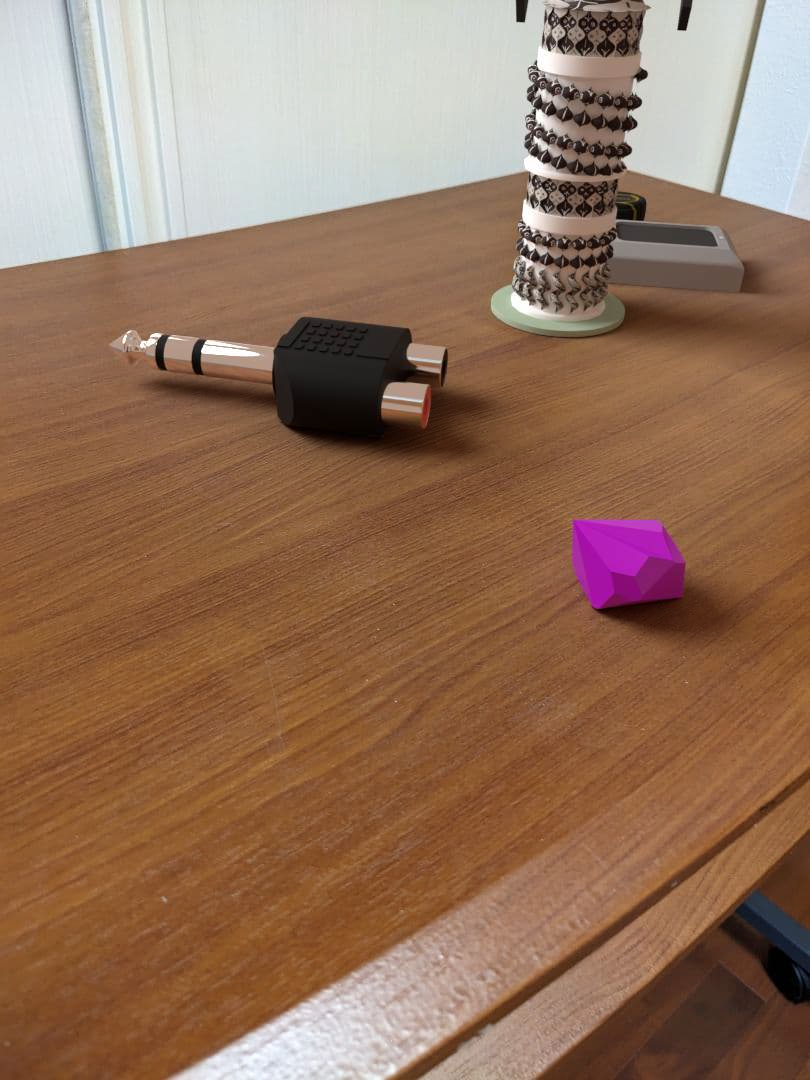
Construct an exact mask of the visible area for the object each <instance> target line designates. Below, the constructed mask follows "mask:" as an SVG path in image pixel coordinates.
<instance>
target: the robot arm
mask: <svg viewBox="0 0 810 1080" xmlns="http://www.w3.org/2000/svg"><path fill="white" fill-rule="evenodd" d="M679 6H680V7H679V13H678V21H677V29H676V31H679V32H680V31H681V32H686V31H687V30H688V26H689V21H690V16H691V12H692V7H693V0H680V5H679ZM528 7H529V0H515V22H516V23H524V24H525V23H526V19H527V13H528Z"/></svg>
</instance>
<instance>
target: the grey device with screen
mask: <svg viewBox="0 0 810 1080" xmlns="http://www.w3.org/2000/svg"><path fill="white" fill-rule="evenodd" d="M613 227H615V228H616V231H617V232H616V234H617V237H616V239H615V240H614V241H612V242H611V243H610V245H612V246H613V249H614V250H613V253H614V255H613V257H612V258H610V259H609V260H608V261H607V264H608V265H609V266H610V268H611V271H610V272H609V273H610V274H611V277H610V278H609V279H608V280H607V281H606V283H607V284H615V285H629V286H643V287H658V288H672V289H683V290H684V289H685V290H698V291H713V292H724V293H725V292H726V293H737V292H738V293H739V294H740V291H741V287H742V283H743V279H744V274H745V267H744V264H743V262H742V261H741V260H742V259H741V258H740V255H739V254H738V251H737V249H736V247H735V245H734V242H733V240H732V238H731V236H730V235H729V233H728V231H727V230H725V229H724V228H723V227H722V226H719V225H705V224H691V223H690V224H689V223H676V222H675V223H674V222H660V221H646V220H644V221H632V220H617V219H616V221H615V225H614V226H613ZM738 293H737V294H738Z"/></svg>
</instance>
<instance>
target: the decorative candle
mask: <svg viewBox="0 0 810 1080" xmlns="http://www.w3.org/2000/svg"><path fill="white" fill-rule="evenodd" d="M542 4H543V5H544V13H543V14H544V15H543V24H542V35H541V36H542V37H541V45H539V46H538V51H537V59H535V60H534V62H533V63H532V64H530V65H529V66H528V67H527V74H528V75H527V77H528V80H529V81H530V82H531V83H532V84H531V85H530V86H528V87H527V89H526V97H525V98H526V100H527V102H529V103H530V104H531V107H533V108H532V109H531V112H529V113H527V114H526V115H525V117H524V119H525V120H524V121H525V128H526V129H527V130H528V131H530V132H528V133H526V134H525V135H524V142H523V147H524V148H525V149H526V150H527V153H528V156H526V157H525V158H524V162H523V165H524V168H525V170H526V171H528V177H527V183H526V185H527V186H526V196H525V199H523V206H522V216H521V217H522V219H521V220H519V221H518V223H517V233H518V234H520V236H521V237H519V238H518V239H517V240H516V245H515V250H516V251H517V252H518V254H519V255H518V256H517V257H516V258H515V259H514V262H513V272H514V276H513V277H512V281H511V282H512V283H511V284H512V288H513V290H514V293H513V294H512V295H511V300H512V306H514V307H515V308H516V309H517V310H518V311H520V312H521V313H524V314H526V315H529V316H531V317H534V318H538V319H543V320H548V321H555V322H576V321H584V320H589V319H592V318H594V317H597V316H599V315H601V313H602V312H603V311H604V309H605V303H604V300H603V298H604V297H605V296H607V294H608V293H609V292H608V289H609V285H608V283H606V281H607V280H608V279H609V278H610V277H611V274H610V273H609V272H610V271H611V268H610V266H609V265H608V264H607V261H608V260H609V259H610V258H612V257H613V255H614V253H613V250H614V249H613V246H612V245H610V243H611V242H612V241H614V240H615V239H616V237H617V234H616V232H617V231H616V228H615V227H613V226H614V225H615V221H616V214H617V207H616V205H615V200H616V197H617V193H618V191H619V180H620V178H623V176H625V175H626V174H627V173H628V172H627V171H628V166H627V165H626V163H625V161H624V160H623V159H624V158H626V157H628V156H630V155H631V154H632V153H633V147H632V146H631V145H630V144H628V142H627V141H625V138H626V133H630V131H632V130H635V129H636V128H638V126H639V122H638V121H637V119H635V118H634V117H633V114H632V113H629V112H634V110H637V109H639V108H640V107H641V106H642V104H643V99H642V98H641V97H640V96H638V94H637V92H635V94H634V91H633V86H634V80H635V81H636V84H635V85H636V86H638V85H639V83H640V82H642V81H644V80H646V79H647V78H648V77H649V72H648V71H647V70H646V69H644V68H642V67H641V62H642V54H643V52H642V51H641V50H640V49H641V48H640V46H641V45H640V44H641V41H642V37H643V34H644V18H645V16H646V12H647V11H649V10H650V9H652V7H651V6H650V5H648V4H646V3H645V1H644V0H544V1H542ZM537 93H538V94H537ZM536 95H537V96H536Z"/></svg>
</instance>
